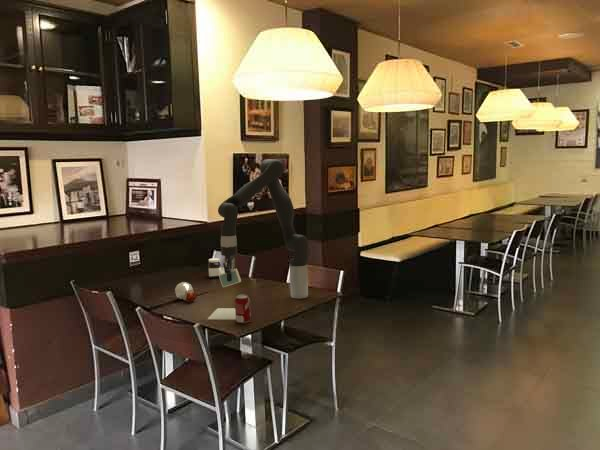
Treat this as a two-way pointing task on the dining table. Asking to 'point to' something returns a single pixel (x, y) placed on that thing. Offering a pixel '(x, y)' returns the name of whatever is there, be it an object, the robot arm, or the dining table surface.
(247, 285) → the dining table surface
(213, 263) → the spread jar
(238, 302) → the soda can
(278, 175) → the robot arm
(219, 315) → the mat
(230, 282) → the card deck
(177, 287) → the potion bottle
